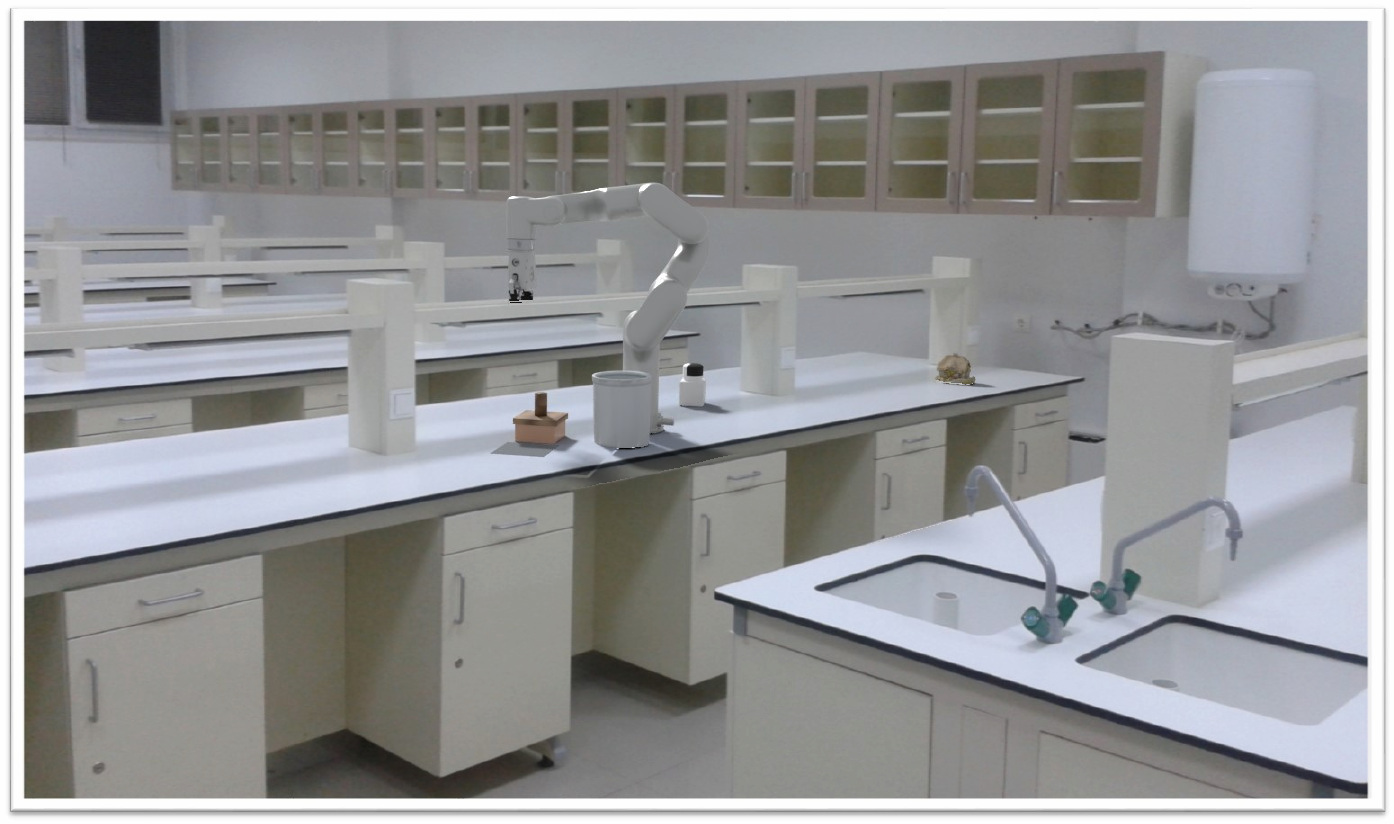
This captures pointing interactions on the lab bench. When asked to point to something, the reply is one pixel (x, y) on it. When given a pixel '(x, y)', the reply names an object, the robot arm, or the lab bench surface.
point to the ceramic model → (954, 370)
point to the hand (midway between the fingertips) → (521, 312)
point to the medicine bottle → (692, 386)
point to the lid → (540, 414)
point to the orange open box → (539, 433)
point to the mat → (524, 449)
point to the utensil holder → (621, 408)
